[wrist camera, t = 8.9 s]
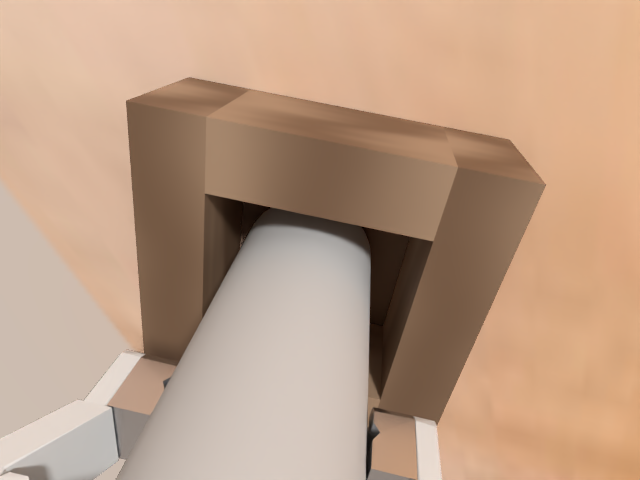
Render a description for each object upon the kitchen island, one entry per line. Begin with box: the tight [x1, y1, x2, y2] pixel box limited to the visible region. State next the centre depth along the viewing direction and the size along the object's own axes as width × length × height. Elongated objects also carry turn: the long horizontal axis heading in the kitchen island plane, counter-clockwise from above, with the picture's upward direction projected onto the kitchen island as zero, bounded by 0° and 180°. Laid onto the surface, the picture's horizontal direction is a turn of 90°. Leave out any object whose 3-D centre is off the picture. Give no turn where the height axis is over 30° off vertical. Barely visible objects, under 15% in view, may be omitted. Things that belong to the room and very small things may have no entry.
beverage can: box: [116, 208, 371, 480], centre depth 12 cm, size 5×5×12 cm
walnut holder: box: [126, 78, 546, 427], centre depth 16 cm, size 11×11×4 cm
